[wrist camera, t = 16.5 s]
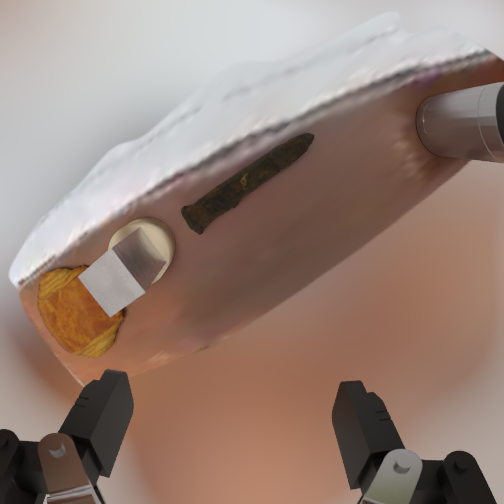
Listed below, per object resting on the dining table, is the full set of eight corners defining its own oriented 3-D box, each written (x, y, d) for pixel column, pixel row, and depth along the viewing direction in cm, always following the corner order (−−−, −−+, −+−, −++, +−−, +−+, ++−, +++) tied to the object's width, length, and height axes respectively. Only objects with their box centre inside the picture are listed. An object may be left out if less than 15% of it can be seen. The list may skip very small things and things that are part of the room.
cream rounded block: (173, 215, 41) (157, 229, 34) (178, 272, 44) (164, 296, 36) (119, 218, 41) (94, 232, 34) (126, 272, 44) (104, 295, 36)
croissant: (84, 345, 50) (69, 375, 43) (35, 275, 44) (11, 301, 36) (146, 325, 48) (134, 359, 41) (94, 244, 42) (70, 270, 35)
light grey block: (140, 226, 36) (111, 248, 28) (166, 261, 38) (145, 292, 29) (110, 250, 37) (77, 276, 29) (136, 284, 39) (110, 317, 30)
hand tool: (200, 231, 42) (195, 240, 38) (183, 206, 41) (175, 213, 37) (321, 154, 39) (330, 154, 35) (305, 128, 38) (312, 125, 34)
